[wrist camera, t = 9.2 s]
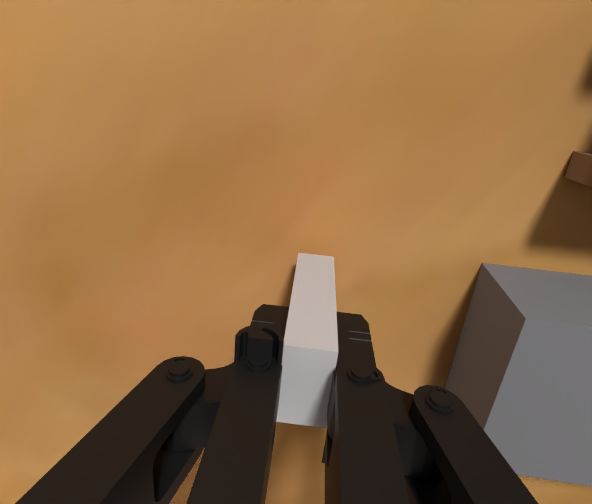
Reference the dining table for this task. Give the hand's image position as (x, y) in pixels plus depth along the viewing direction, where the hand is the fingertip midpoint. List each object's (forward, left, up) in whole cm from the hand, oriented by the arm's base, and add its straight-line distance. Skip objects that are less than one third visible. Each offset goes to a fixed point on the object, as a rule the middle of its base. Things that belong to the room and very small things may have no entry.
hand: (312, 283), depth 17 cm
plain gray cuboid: (+12, -2, -2) cm, 12 cm away
